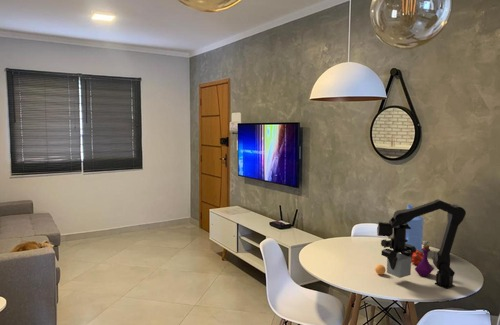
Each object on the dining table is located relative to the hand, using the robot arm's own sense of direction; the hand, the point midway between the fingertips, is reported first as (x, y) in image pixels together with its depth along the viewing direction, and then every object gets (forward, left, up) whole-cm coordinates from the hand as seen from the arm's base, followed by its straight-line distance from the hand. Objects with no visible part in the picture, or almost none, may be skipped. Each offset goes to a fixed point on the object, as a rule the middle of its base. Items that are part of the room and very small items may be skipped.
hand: (398, 267), depth 185 cm
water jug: (+28, -45, -7) cm, 53 cm away
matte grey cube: (0, 0, -3) cm, 3 cm away
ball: (+10, 0, -4) cm, 11 cm away
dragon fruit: (+10, -29, -7) cm, 32 cm away
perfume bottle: (-1, -19, -7) cm, 20 cm away
